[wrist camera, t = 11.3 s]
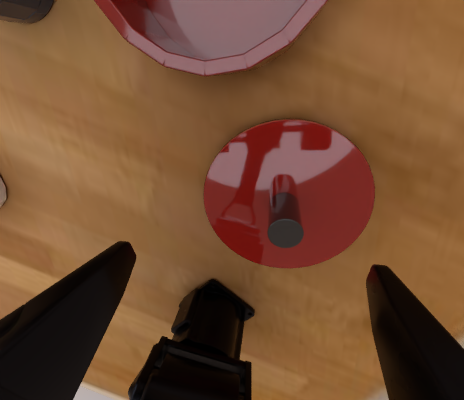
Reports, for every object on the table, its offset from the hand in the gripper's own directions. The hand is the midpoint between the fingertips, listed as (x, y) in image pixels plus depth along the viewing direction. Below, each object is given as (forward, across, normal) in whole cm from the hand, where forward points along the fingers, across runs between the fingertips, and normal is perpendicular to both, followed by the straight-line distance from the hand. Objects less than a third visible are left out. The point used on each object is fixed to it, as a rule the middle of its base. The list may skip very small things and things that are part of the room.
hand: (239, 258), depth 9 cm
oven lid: (+11, -1, +6) cm, 12 cm away
